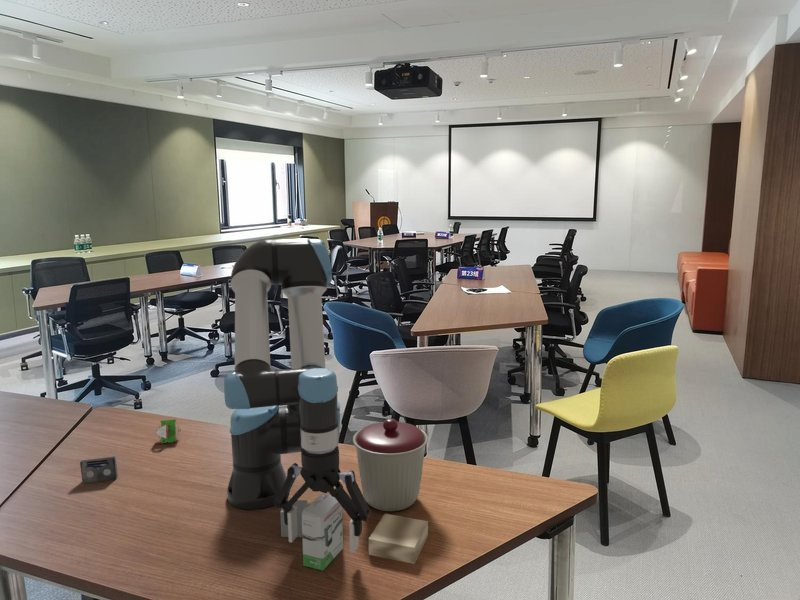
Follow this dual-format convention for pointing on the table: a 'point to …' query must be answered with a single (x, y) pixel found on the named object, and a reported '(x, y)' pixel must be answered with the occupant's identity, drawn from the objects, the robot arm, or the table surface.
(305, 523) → the ink box
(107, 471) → the mini dv tape
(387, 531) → the oak block
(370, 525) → the table surface
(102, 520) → the table surface
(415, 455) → the canister
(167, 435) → the geometric puzzle
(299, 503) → the grey block
